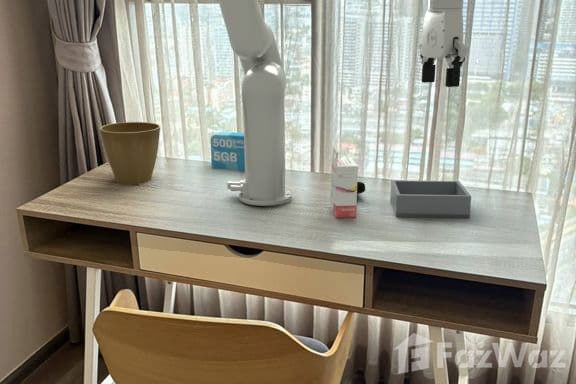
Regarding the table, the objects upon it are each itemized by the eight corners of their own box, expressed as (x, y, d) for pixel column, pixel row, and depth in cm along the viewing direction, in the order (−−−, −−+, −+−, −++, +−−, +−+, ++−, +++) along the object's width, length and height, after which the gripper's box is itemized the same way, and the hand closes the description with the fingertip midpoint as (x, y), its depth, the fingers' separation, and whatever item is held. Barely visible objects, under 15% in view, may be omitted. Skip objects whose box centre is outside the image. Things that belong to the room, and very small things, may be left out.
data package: (211, 176, 169) (209, 134, 165) (217, 172, 173) (216, 131, 170) (252, 179, 165) (251, 136, 162) (257, 175, 170) (256, 133, 166)
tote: (395, 216, 134) (396, 195, 133) (390, 200, 146) (391, 180, 145) (469, 218, 133) (471, 196, 132) (457, 201, 145) (459, 181, 144)
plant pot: (93, 192, 154) (87, 130, 150) (125, 178, 168) (120, 120, 163) (145, 196, 150) (141, 132, 145) (173, 181, 164) (170, 123, 159)
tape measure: (367, 195, 145) (365, 179, 145) (342, 199, 143) (340, 183, 143) (354, 195, 152) (352, 180, 152) (329, 199, 149) (327, 184, 149)
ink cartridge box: (357, 218, 134) (359, 152, 130) (335, 218, 133) (336, 153, 129) (350, 206, 142) (352, 144, 138) (329, 206, 141) (330, 144, 137)
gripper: (409, 5, 138) (405, 81, 143) (453, 3, 123) (447, 89, 127) (438, 5, 141) (433, 80, 145) (484, 4, 125) (477, 87, 130)
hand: (439, 84), depth 136 cm, fingers open, 9 cm apart
